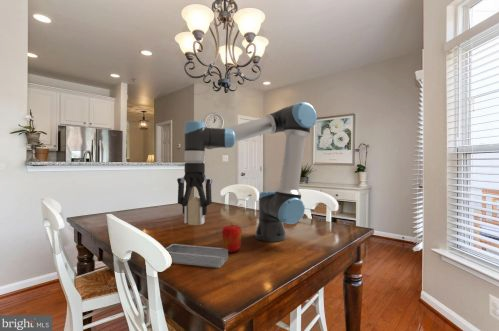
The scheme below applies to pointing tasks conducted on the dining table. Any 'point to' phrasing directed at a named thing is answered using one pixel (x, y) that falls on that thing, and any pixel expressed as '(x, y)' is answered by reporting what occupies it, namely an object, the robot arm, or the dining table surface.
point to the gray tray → (198, 255)
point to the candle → (194, 211)
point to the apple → (232, 237)
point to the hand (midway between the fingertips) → (194, 222)
